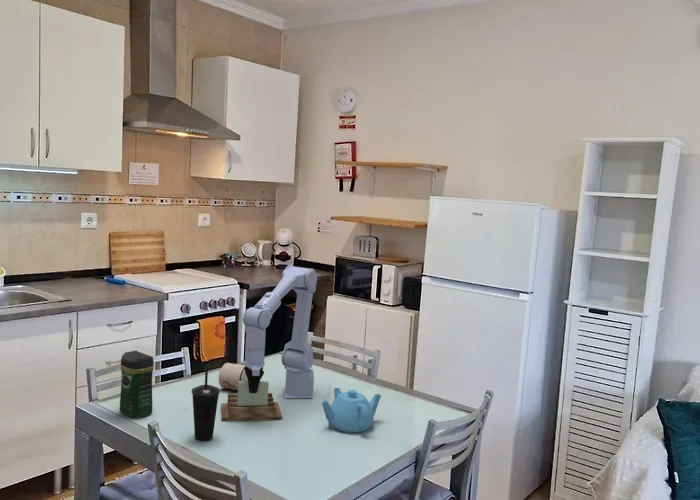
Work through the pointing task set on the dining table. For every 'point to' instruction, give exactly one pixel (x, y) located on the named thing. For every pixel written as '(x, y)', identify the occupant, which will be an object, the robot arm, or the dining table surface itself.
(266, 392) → the upright gray panel
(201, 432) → the drinking cup
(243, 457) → the dining table surface
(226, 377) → the beige mug
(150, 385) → the coffee jar
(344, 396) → the teapot
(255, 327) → the robot arm
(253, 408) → the walnut rack
